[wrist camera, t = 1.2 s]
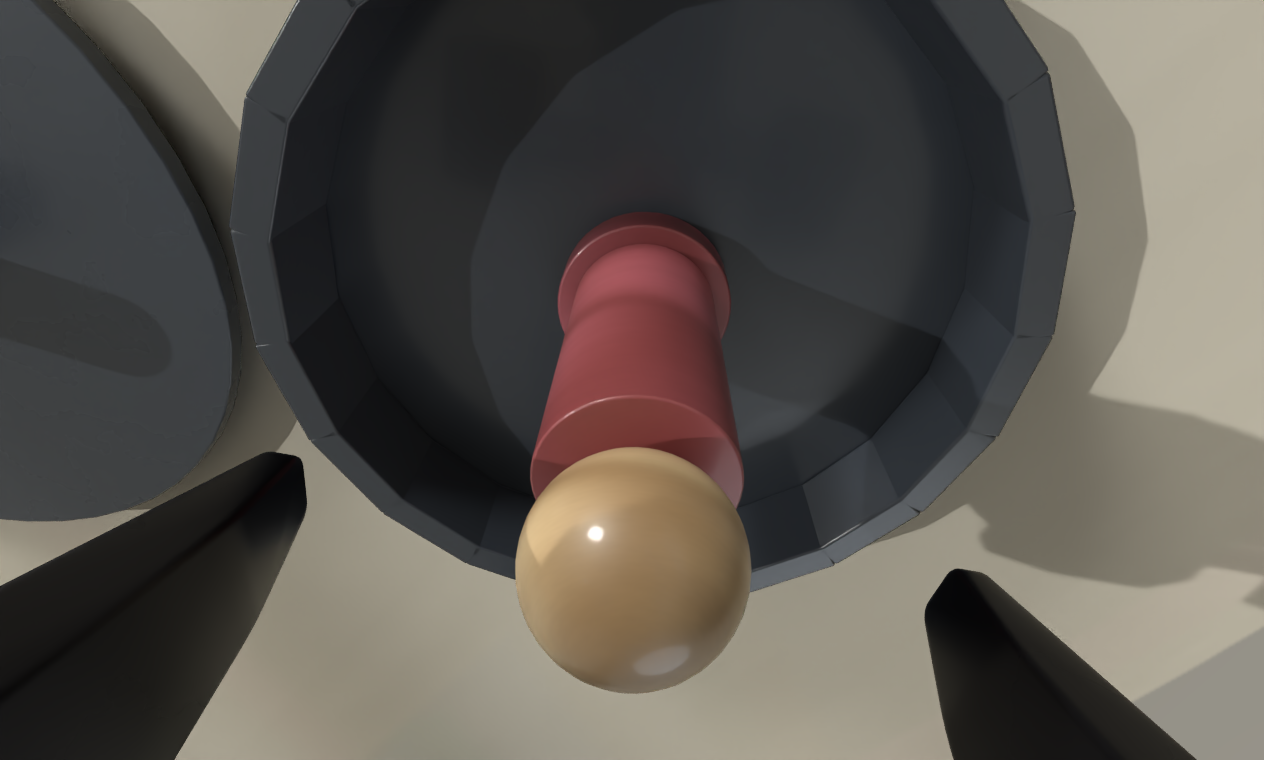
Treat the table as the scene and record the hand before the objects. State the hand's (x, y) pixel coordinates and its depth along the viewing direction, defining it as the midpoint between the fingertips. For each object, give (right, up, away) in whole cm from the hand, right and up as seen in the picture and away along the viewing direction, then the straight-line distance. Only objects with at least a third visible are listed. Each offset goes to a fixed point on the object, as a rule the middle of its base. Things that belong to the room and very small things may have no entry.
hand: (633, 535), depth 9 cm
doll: (0, +4, +7) cm, 8 cm away
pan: (0, +5, +7) cm, 8 cm away
